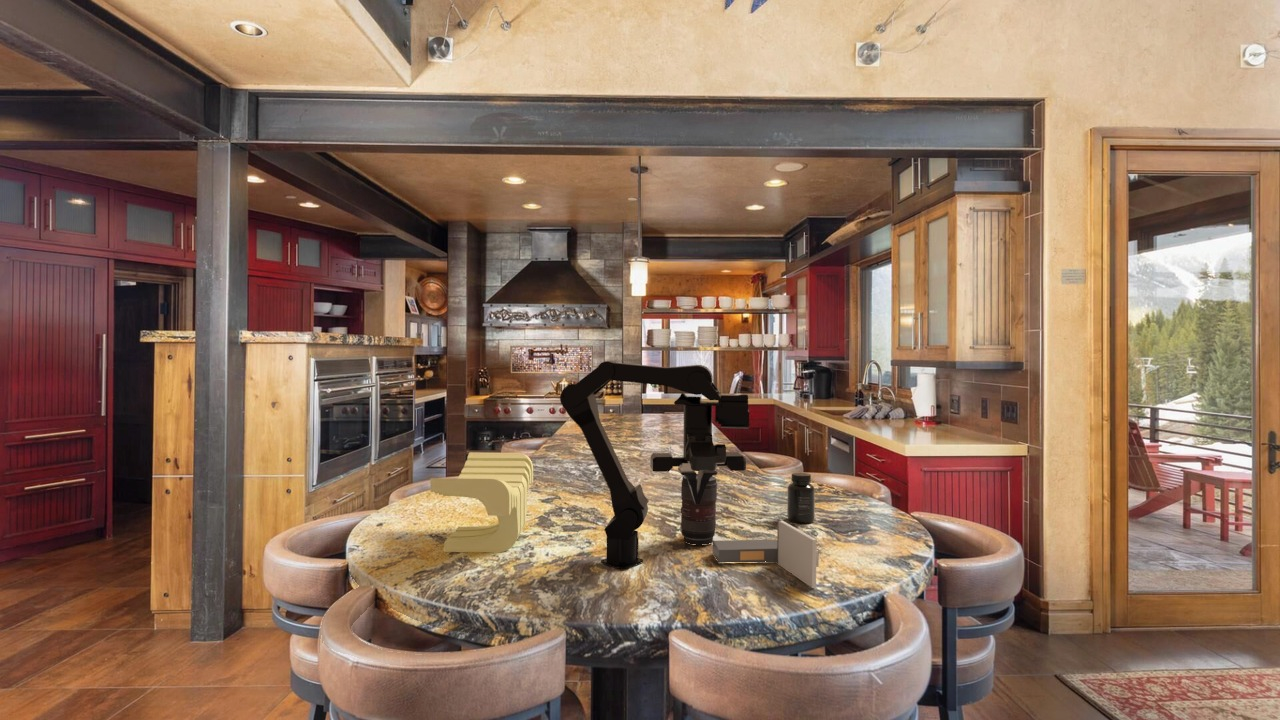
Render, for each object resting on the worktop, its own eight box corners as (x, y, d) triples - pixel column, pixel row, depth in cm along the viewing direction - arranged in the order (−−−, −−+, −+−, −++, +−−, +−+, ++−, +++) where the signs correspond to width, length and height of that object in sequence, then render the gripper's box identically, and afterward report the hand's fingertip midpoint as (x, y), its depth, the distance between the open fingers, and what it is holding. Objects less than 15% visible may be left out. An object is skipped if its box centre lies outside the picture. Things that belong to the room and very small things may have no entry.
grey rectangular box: (718, 564, 130) (719, 550, 129) (712, 554, 136) (712, 540, 136) (790, 562, 131) (790, 548, 131) (781, 552, 137) (781, 539, 137)
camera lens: (714, 548, 140) (715, 481, 139) (678, 546, 141) (679, 479, 141) (717, 537, 148) (718, 474, 147) (683, 535, 149) (684, 472, 149)
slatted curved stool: (509, 566, 128) (509, 478, 127) (430, 565, 128) (430, 478, 127) (532, 523, 158) (533, 452, 157) (469, 523, 158) (469, 452, 157)
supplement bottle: (817, 519, 164) (818, 473, 163) (809, 525, 158) (810, 478, 158) (792, 515, 167) (792, 470, 167) (783, 521, 162) (784, 474, 161)
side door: (818, 588, 117) (819, 538, 117) (811, 589, 117) (812, 539, 117) (782, 563, 131) (783, 518, 130) (776, 563, 130) (776, 518, 130)
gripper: (655, 433, 118) (655, 516, 119) (753, 432, 120) (752, 514, 120) (650, 425, 129) (649, 501, 130) (739, 424, 131) (738, 499, 131)
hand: (697, 504), depth 127 cm, fingers closed
